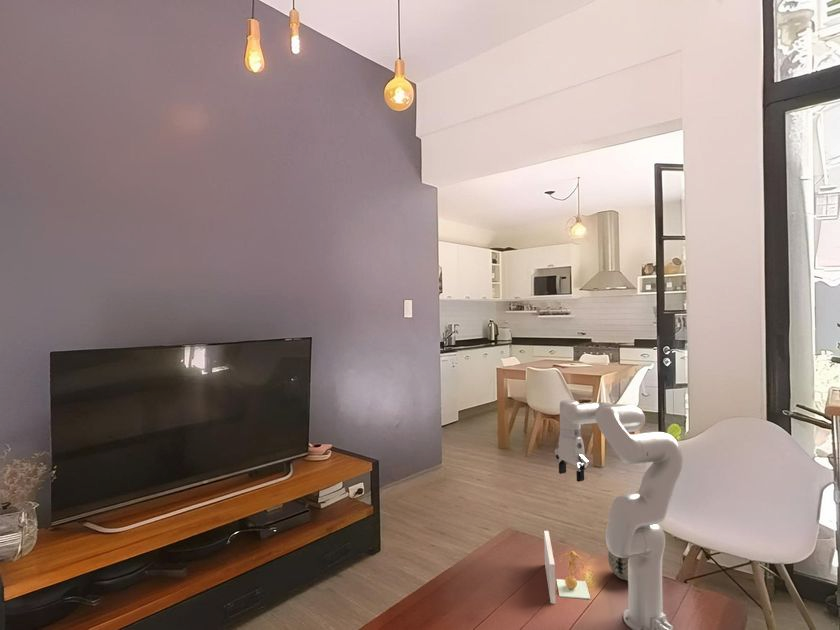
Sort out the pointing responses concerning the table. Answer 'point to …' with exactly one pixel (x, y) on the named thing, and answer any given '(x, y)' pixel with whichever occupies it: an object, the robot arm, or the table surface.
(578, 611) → the table surface
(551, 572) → the screen
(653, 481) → the robot arm
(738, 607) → the table surface
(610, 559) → the decorative egg
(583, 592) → the mat
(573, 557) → the figurine
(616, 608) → the table surface
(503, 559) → the table surface
